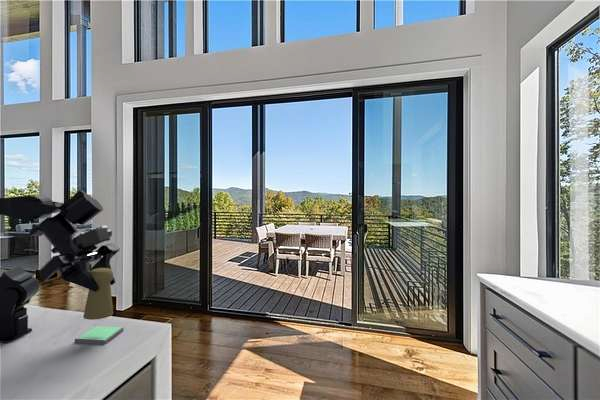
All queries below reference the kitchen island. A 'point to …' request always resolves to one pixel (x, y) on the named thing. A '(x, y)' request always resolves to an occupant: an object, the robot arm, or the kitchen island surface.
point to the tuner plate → (99, 335)
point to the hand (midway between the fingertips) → (105, 287)
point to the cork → (100, 295)
